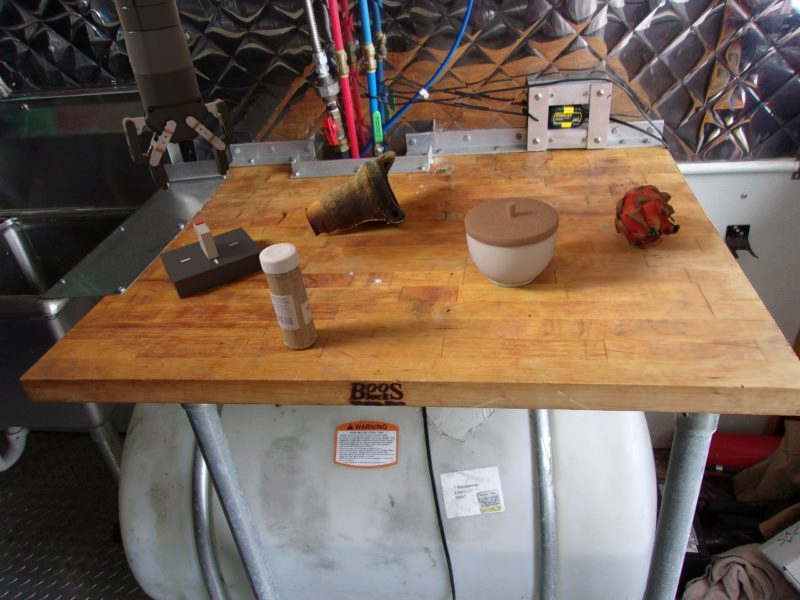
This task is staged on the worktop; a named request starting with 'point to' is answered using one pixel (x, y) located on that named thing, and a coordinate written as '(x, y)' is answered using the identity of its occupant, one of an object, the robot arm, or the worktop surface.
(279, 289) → the sprinkles bottle
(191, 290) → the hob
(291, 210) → the worktop surface
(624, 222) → the dragon fruit
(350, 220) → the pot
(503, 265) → the lidded bowl
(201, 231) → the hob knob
